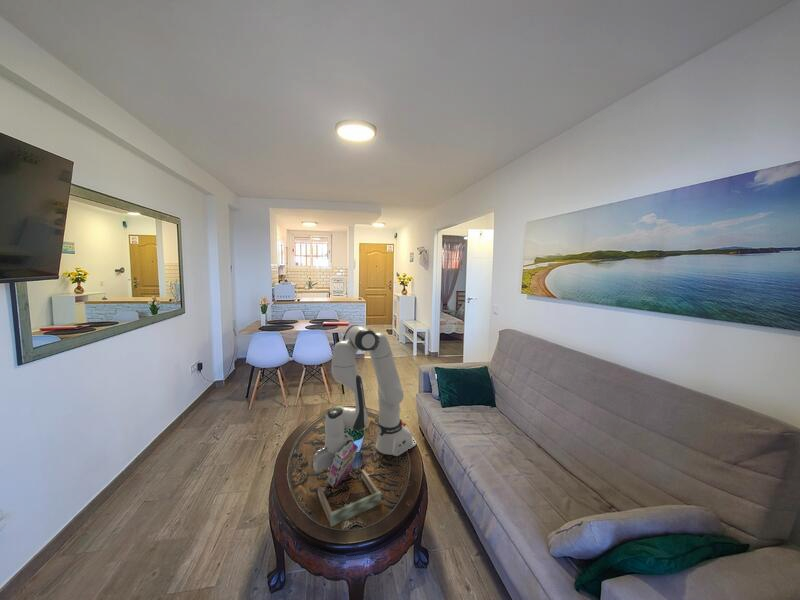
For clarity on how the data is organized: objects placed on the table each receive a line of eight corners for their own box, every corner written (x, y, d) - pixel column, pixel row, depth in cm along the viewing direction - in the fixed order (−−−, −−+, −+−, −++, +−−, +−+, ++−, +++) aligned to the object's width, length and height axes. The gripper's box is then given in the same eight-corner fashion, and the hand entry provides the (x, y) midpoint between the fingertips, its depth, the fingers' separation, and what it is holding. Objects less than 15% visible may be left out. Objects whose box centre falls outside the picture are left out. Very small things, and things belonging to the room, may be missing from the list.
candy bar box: (334, 489, 130) (342, 460, 126) (325, 482, 132) (334, 453, 128) (350, 473, 140) (358, 446, 135) (342, 467, 142) (350, 440, 138)
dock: (363, 477, 138) (363, 467, 137) (381, 503, 124) (381, 492, 123) (317, 495, 127) (317, 484, 126) (331, 526, 112) (331, 515, 112)
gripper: (317, 456, 127) (317, 485, 129) (356, 438, 141) (356, 464, 143) (310, 449, 132) (310, 477, 134) (349, 432, 145) (349, 457, 148)
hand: (334, 470), depth 139 cm, fingers closed
